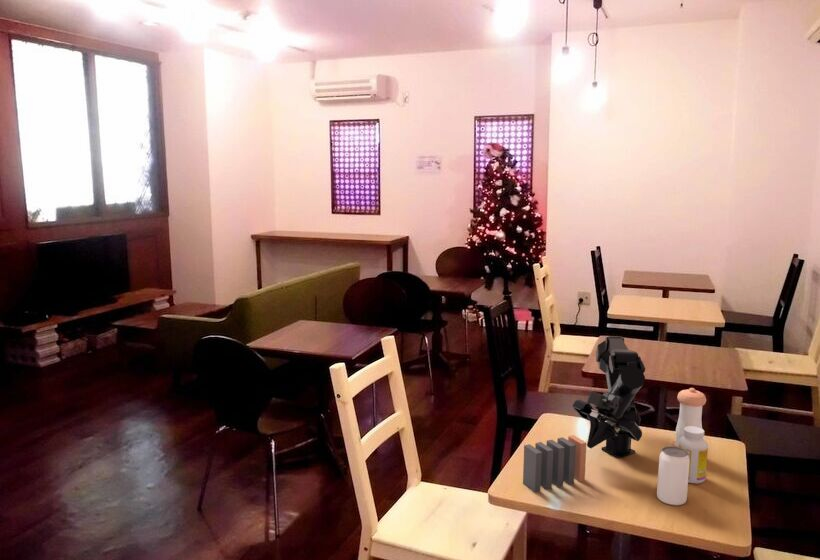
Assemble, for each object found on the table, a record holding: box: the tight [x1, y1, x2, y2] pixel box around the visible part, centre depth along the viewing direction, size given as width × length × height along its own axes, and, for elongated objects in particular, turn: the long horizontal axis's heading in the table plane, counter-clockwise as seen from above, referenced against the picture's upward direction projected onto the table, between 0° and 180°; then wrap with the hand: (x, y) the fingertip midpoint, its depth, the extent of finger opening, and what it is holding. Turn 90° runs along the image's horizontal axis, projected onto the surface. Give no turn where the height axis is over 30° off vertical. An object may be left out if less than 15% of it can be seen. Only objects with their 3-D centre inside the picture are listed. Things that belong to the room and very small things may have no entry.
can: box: [656, 445, 689, 507], centre depth 151 cm, size 6×6×12 cm
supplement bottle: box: [678, 426, 709, 485], centre depth 161 cm, size 7×7×13 cm
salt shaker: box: [672, 387, 707, 447], centre depth 172 cm, size 7×7×19 cm
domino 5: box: [567, 434, 587, 483], centre depth 162 cm, size 2×5×10 cm, turn 24°
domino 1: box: [522, 444, 542, 494], centre depth 156 cm, size 2×5×10 cm, turn 24°
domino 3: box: [545, 439, 565, 488], centre depth 159 cm, size 2×5×10 cm, turn 24°
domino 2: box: [534, 441, 553, 491], centre depth 158 cm, size 2×5×10 cm, turn 24°
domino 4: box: [556, 437, 576, 486], centre depth 160 cm, size 2×5×10 cm, turn 24°
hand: (588, 447), depth 163 cm, fingers closed
